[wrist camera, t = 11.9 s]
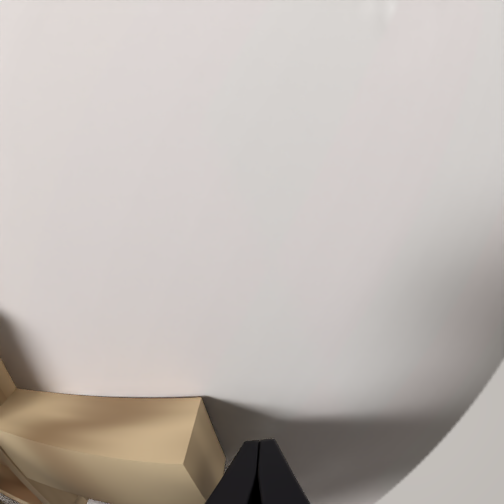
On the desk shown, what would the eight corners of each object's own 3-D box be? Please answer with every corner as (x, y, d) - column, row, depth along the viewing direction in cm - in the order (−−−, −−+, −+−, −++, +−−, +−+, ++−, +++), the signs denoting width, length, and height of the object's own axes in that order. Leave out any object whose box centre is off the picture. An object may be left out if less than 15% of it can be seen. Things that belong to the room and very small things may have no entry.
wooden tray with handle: (159, 264, 7) (110, 314, 5) (248, 506, 10) (244, 555, 8) (-94, 307, 9) (-121, 324, 6) (-12, 453, 12) (-29, 475, 9)
